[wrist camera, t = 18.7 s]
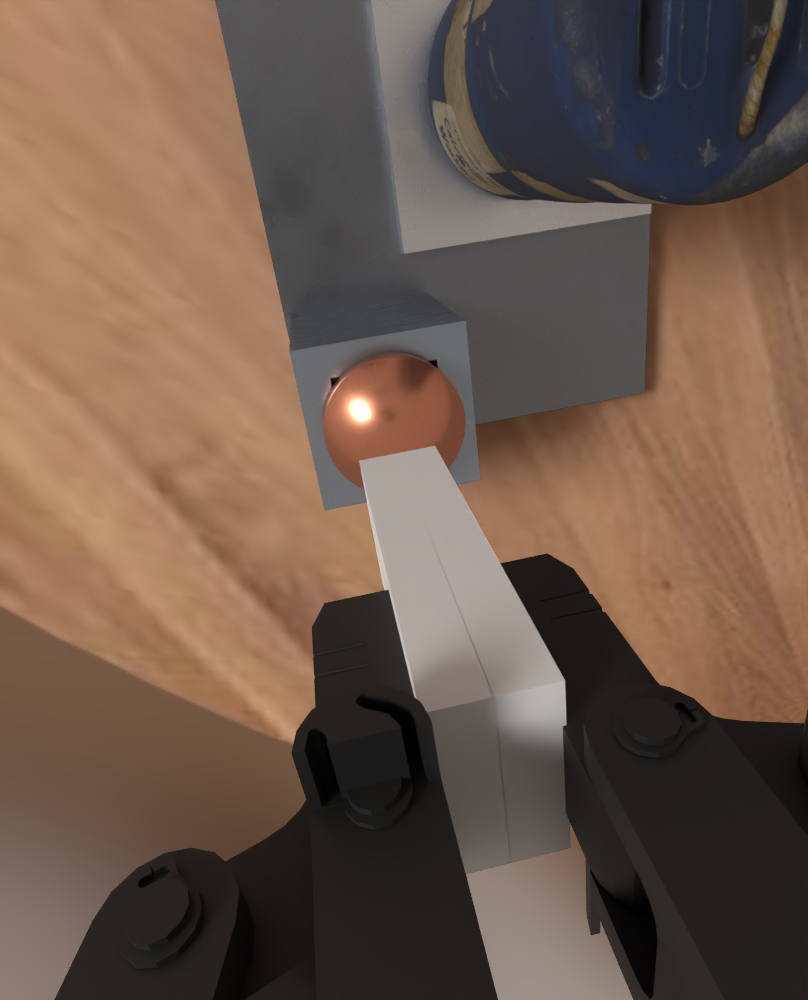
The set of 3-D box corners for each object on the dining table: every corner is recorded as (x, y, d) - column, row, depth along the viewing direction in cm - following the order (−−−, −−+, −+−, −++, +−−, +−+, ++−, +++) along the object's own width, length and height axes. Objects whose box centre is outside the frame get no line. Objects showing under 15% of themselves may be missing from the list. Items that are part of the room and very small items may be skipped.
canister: (643, -20, 28) (1107, -311, 12) (593, 213, 32) (894, 227, 16) (433, -62, 26) (651, -471, 10) (408, 190, 30) (537, 179, 14)
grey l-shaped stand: (213, -15, 28) (177, -110, 19) (643, -70, 29) (785, -179, 21) (313, 445, 38) (319, 517, 29) (632, 386, 39) (725, 437, 31)
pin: (306, 331, 33) (310, 372, 25) (419, 312, 33) (458, 346, 25) (328, 439, 35) (338, 506, 28) (433, 419, 36) (471, 480, 28)
